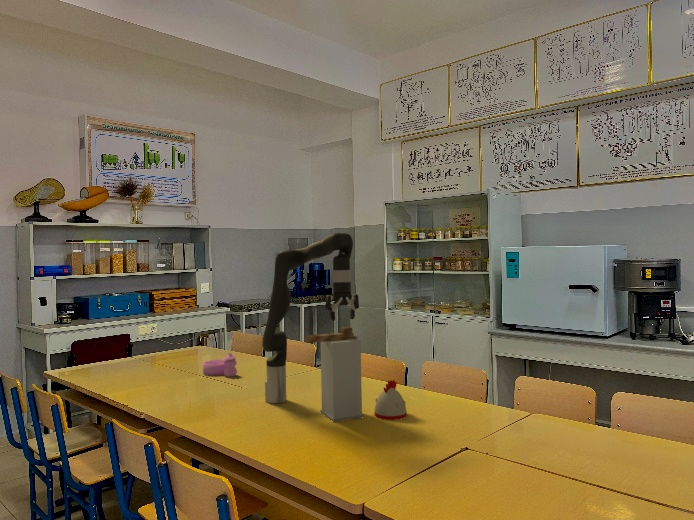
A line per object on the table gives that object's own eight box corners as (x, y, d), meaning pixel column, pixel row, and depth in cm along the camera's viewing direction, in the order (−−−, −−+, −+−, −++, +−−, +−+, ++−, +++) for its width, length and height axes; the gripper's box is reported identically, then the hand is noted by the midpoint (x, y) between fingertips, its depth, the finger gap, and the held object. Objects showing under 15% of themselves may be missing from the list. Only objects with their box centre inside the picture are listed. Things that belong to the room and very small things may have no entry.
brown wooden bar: (307, 342, 226) (307, 331, 226) (304, 341, 229) (304, 330, 229) (353, 338, 234) (353, 327, 234) (350, 337, 238) (349, 326, 238)
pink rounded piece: (198, 373, 322) (197, 351, 322) (219, 369, 333) (218, 347, 333) (223, 379, 306) (223, 356, 305) (245, 374, 317) (244, 352, 317)
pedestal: (333, 422, 225) (331, 340, 224) (320, 412, 238) (319, 335, 238) (363, 417, 230) (362, 337, 230) (349, 408, 244) (348, 333, 243)
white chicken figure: (413, 414, 234) (412, 380, 233) (393, 422, 224) (392, 386, 223) (387, 408, 243) (387, 375, 243) (367, 415, 233) (367, 381, 233)
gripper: (329, 281, 218) (330, 321, 219) (361, 280, 224) (362, 319, 225) (322, 281, 225) (323, 320, 225) (353, 280, 231) (354, 317, 231)
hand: (342, 319), depth 225 cm, fingers open, 8 cm apart
